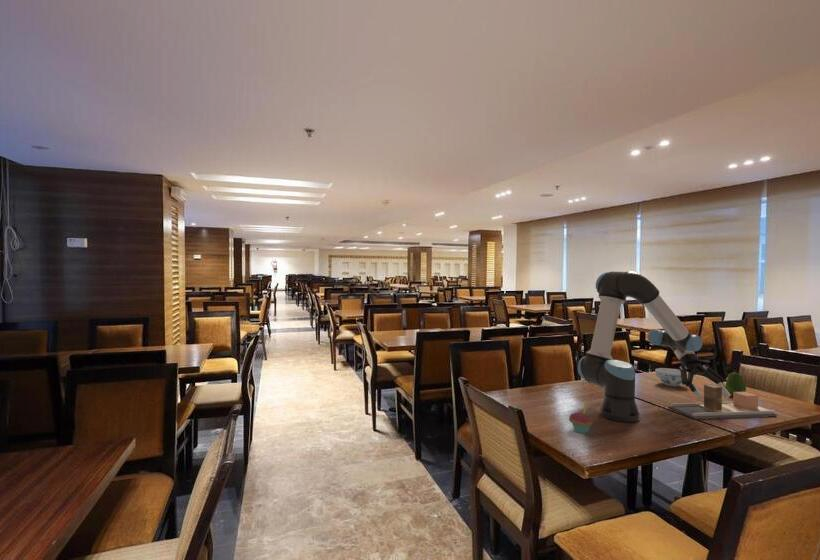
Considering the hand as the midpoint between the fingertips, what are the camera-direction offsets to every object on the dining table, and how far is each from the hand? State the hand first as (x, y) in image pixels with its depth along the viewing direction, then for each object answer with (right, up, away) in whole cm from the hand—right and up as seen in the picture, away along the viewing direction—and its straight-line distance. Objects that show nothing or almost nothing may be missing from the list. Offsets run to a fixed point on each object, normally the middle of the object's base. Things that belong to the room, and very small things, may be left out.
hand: (714, 397), depth 175 cm
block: (+15, -5, +1) cm, 16 cm away
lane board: (+3, -7, 0) cm, 7 cm away
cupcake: (-70, -7, -22) cm, 73 cm away
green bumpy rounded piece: (+30, -7, +24) cm, 39 cm away
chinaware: (+11, -7, +45) cm, 47 cm away
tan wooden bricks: (+9, -6, +1) cm, 11 cm away
